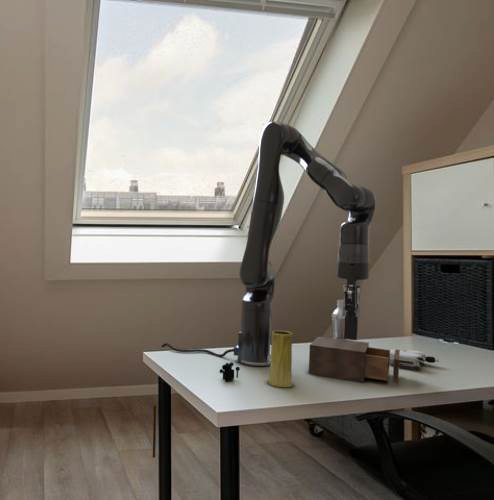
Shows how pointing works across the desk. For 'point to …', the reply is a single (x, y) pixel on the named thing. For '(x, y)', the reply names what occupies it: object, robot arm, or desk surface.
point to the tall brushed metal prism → (351, 331)
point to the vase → (281, 359)
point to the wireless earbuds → (228, 371)
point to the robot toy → (412, 357)
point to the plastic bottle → (338, 321)
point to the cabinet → (338, 358)
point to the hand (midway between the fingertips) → (351, 325)
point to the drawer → (384, 364)
